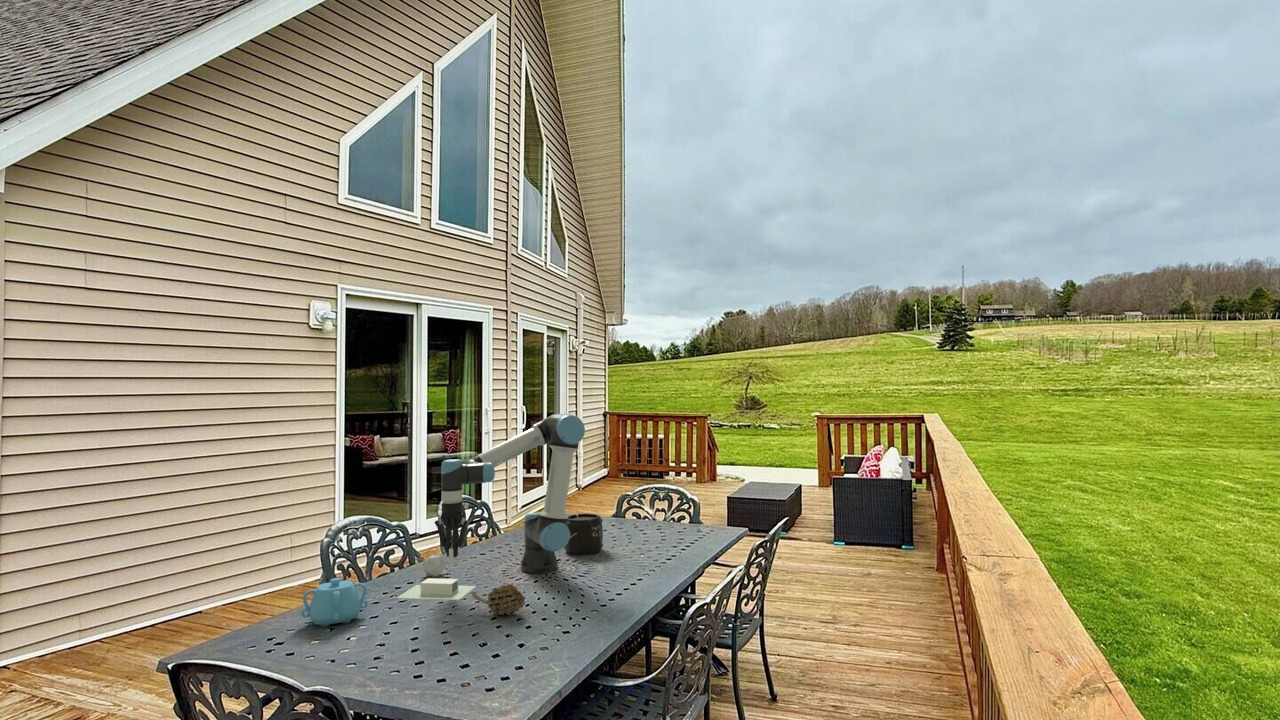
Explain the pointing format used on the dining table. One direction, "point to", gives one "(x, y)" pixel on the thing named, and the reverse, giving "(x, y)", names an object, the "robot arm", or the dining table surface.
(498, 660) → the dining table surface
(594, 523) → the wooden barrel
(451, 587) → the beige rectangular block
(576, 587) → the dining table surface
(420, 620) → the dining table surface
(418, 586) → the green mat
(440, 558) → the die
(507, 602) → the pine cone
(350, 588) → the decorative pot
